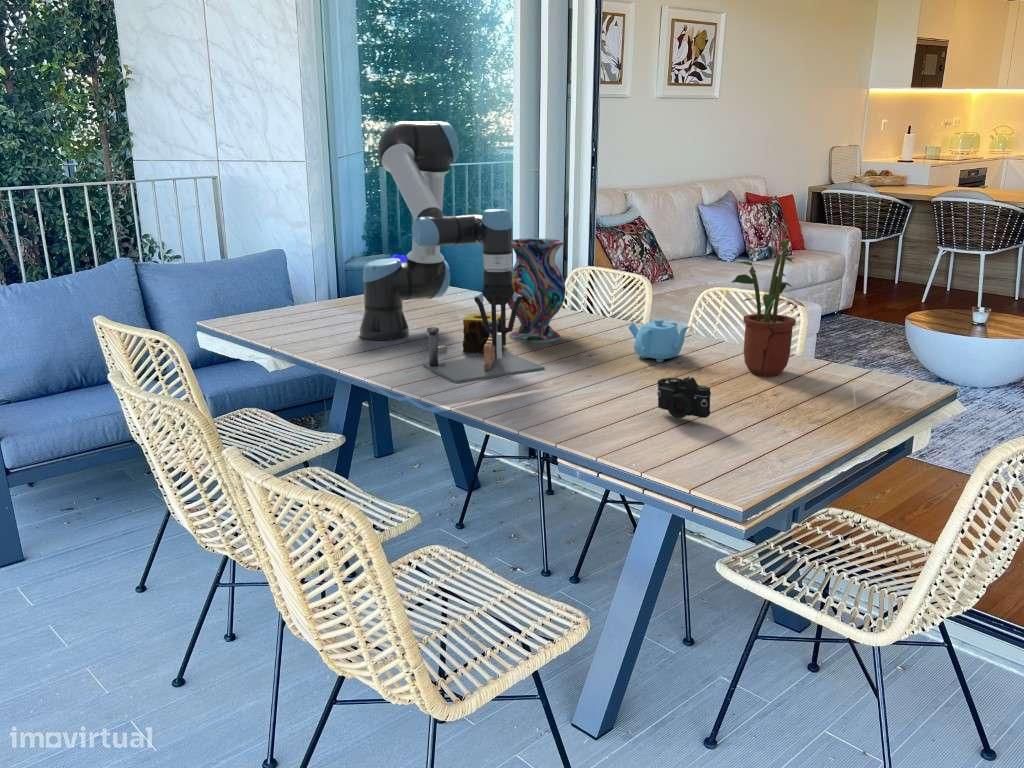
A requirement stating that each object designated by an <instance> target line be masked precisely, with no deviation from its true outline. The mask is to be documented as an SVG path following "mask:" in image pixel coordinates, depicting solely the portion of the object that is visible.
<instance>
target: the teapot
mask: <svg viewBox="0 0 1024 768" xmlns="http://www.w3.org/2000/svg"><path fill="white" fill-rule="evenodd" d="M664 321H665V320H664V319H661V318H656V319H654V320H653V321H651V322H647V323H643V324H642V325H641V326H640V327H639V328H638V327H637V325H636V324H635V323H633V324H632V323H631V324H630V325H629V326H627V327H628V330H629V331H630V333H631V334H632V336H633V338H635V339H634V344H633V349H634V352H635V353H636V354H637V355H638V356H640V357H641V358H640V359H642V358H647V359H648V358H650V359H655V362H656V361H657V363H664V362H663V361H664V360H667V359H672V358H675V357H677V356H678V355H679V354H680V353H681V352H682V347H683V345H684V344H685V336H686V332H687V330H688V329H690V326H683V327H682V328H681V329H680V331H679V330H678V322H671V323H666V322H664Z"/></svg>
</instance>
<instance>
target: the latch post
mask: <svg viewBox="0 0 1024 768" xmlns="http://www.w3.org/2000/svg"><path fill="white" fill-rule="evenodd" d="M439 332H440V328H439V327H435V326H434V327H433V326H431V327H428V328H426V333H428V361H429V362H428V364H429V366H431V367H436V366H438V362H439V355H447V354H448V347H447V346H446V345H445V344H444V345H439V344H438V343H439V339H438V338H439V336H438V333H439Z"/></svg>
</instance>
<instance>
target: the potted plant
mask: <svg viewBox="0 0 1024 768" xmlns="http://www.w3.org/2000/svg"><path fill="white" fill-rule="evenodd" d="M780 245H781V247H782V252H781V256H780V254H777V256H776V258H775V262H774V266H773V269H772V275H771V279H770V285H769V290H768V294H767V293H764V294H763V297H762V299H761V294H760V288H759V283H758V276H757V272H756V271H757V270H755V268H754V266H753V263H752V262H751V261H747V260H746V261H745V260H743V261H738V262H737V264H743V265H748V266H751V267H750V269H749V270H748V272H749V274H750V275H748V274H738V275H736V277H735V278H734V279H733V280H732V281H730V283H731V284H733V283H739V284H744V285H746V284H747V285H752V284H753V287H754V293H755V294H754V295H755V298H754V297H753V298H745V299H744V300H743V301H742V302H745V301H749V300H755V301H756V313H752V314H750V313H749V314H746V315H744V316H743V317H742V318H743V320H742V321H743V324H745V326H744V338H743V339H744V340H743V341H744V342H743V358H744V364H745V366H746V367H747V369H748V371H750V373H751V374H753V373H754V374H753V375H756V374H757V375H756V376H760V375H761V377H774V376H775V375H776V376H778V375H779V374H782V373H783V371H784V370H785V368H787V366H788V362H789V359H790V356H791V348H792V339H793V338H792V337H793V327H794V326H796V324H797V319H796V318H794V317H793V316H788V315H783V314H778V309H779V300H780V296H781V295H782V293H783V292H784V290H785V289H786V288H787V286H789V287H791V288H793V286H792V285H791V284H790V283H789V282H785V281H783V277H785V278H787V276H786V274H785V273H784V272H785V271H784V270H785V264H786V260H787V261H788V262H791V263H794V261H793V260H796V258H795V257H788V256H787V252H788V246H789V245H790V240H789V241H788V240H781V241H780ZM778 269H779V270H778ZM761 300H762V301H763V305H764V308H765V309H764V313H762V303H761ZM772 310H773V311H772ZM776 376H775V377H776Z"/></svg>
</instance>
